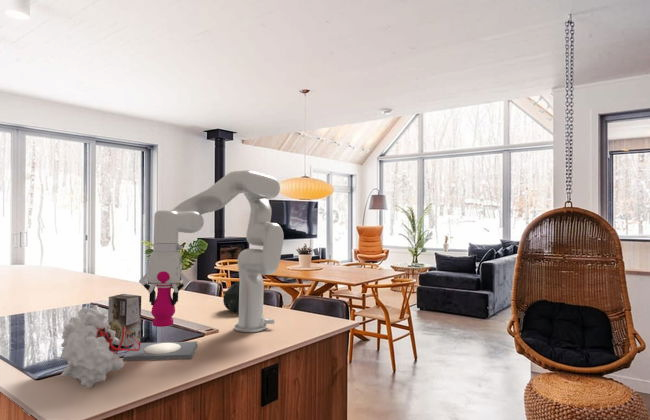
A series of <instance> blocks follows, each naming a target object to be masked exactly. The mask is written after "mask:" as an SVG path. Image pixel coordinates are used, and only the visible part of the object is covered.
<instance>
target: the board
mask: <svg viewBox="0 0 650 420" xmlns="http://www.w3.org/2000/svg"><path fill="white" fill-rule="evenodd" d="M133 345H134V347H135V348H136V349H138V348H139V345H138V343H135V344H133ZM133 345H131V348H130V349H135V348H134V347H133ZM197 347H198V340H197V341H196V340H195V341H164V342H163V341H162V342H161V341H160V342H140V349H139V350H138V351H127V352H126V353H125V354H124V355H123V358H122V359H123V362H125V361H129V362H130V361H151V360H152V361H154V360H155V361H156V360H158V361H159V360H180V359H181V360H183V359H193V357H194V354H195V351H196V349H197Z"/></svg>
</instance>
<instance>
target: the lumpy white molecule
mask: <svg viewBox="0 0 650 420" xmlns="http://www.w3.org/2000/svg"><path fill="white" fill-rule="evenodd" d="M77 315H78V316H77ZM77 315H75V316H71V317H70V318H69V322H68V324H65V325H64V327H63V329H64V330H63V331H62V337H61V338H62V340H63V342H62V343H61V345H60V346H61V347H62V349H61V355H60V358H61V359H62V360H63V361H65V362H67V366H66V367H65V369H64V371H63V372H62V373H61V377H63V378H64V377H67V376H71V377H73V378H74V379H75V380H76V379H78V380H80V385H81V386H83V387H84V386H86V387H87V388H88V389H90V388H92V387H93V385H95V384H96V383H98V382H104V381H106V380H107V373H108V372H109V373H110V372H111V371H114V372H118V371H119V370H121V369H123V367H124V364H125V363H124V362H125V361H123V358H122V357H120V356H119V353H118V352H119V351H127V352H128V351H138V350H139V349H140V343H142V342H141V340H140V341H139V343H138V342H137V341H136V340H135V338H134V337H133V338H134V340H135V341H136V342H137V343H138V345H139V348H138V349H136V348H135V347H134V344H132V343H131V341H130V340H129V342H130V343H131V344H132V345H131V346H133V347H134V348H135V349H131V348H129V346H126V345H125V344H124V345H125V346H126V348H121V347H122V346H121V344H122V341H123V337H124V334H125V333H124V329H125V327H123V328H122V332H123V333H122V339H121V343H120V345H117V346H118V347H116V346H114V344H112V343H113V342H115V343H119V340H118V339H117V338H116V337H115V333H116V332H115V331H114V330H110V328H111V326H110V325H109V323H108V322H107V321H106V319H107V318H108V314H106V313H103V311H102V310H101V309H99V306H98V305H97V304H96V305H93V306H92V307H87V306H83V307H81V309H80V310H79V311H78V313H77ZM125 330H126V329H125ZM126 331H127V330H126ZM127 332H128V331H127ZM128 333H129V332H128ZM129 334H131V333H129ZM125 336H126V334H125ZM126 337H127V336H126ZM123 343H124V341H123ZM125 346H124V347H125ZM115 350H116V351H115Z"/></svg>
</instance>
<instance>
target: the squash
mask: <svg viewBox="0 0 650 420" xmlns="http://www.w3.org/2000/svg"><path fill="white" fill-rule="evenodd" d="M239 286H240V281H236V282H234V284H232V285H231V286H229V288H227V290H226V291H225V293H224V295H223V305H224V307H225V309H227V310H228V311H230V313H233V314H235V313H237V314H239Z"/></svg>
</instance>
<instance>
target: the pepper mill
mask: <svg viewBox="0 0 650 420" xmlns="http://www.w3.org/2000/svg"><path fill="white" fill-rule="evenodd" d="M157 279H158V280H159V281H160V282H161V283H158V284H156V287H155V288H157V292H156V293H157V294H156V300H155V302H154V305H151V306H152V307H151V311H150V313H151V315H152V316H153V319H152V326H153V327H156V328H160V327H161V328H163V327H164V328H165V327H169V326H173V325H174V318H173V316H174V314H175V313H176V307H175V305H176V304H175V305H172V297H173V296H172V288H173V286H172V284H168V283H165V282H166V281H168V280H169V279H170V276H169V274H168V273H167V272H165V271H162V272H159V273H158V275H157Z"/></svg>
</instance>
